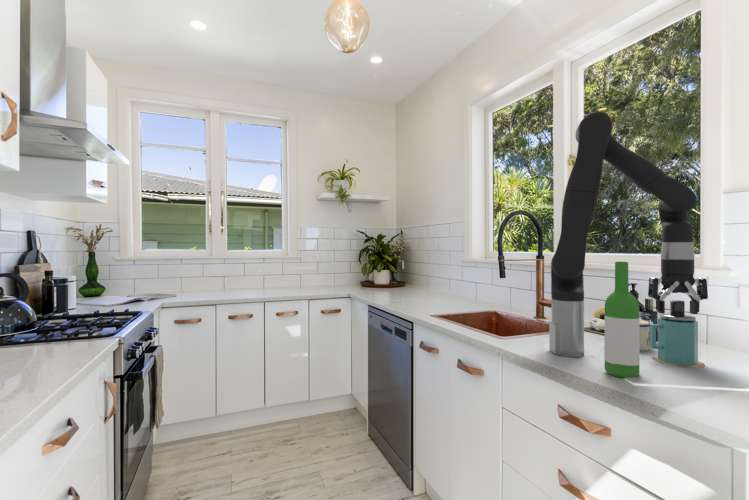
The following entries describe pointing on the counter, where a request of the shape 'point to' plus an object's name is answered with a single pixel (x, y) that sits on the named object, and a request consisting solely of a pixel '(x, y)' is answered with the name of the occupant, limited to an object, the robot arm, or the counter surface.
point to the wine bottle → (622, 328)
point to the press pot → (676, 341)
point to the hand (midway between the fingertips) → (677, 313)
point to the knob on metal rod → (677, 312)
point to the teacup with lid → (644, 334)
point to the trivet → (679, 365)
